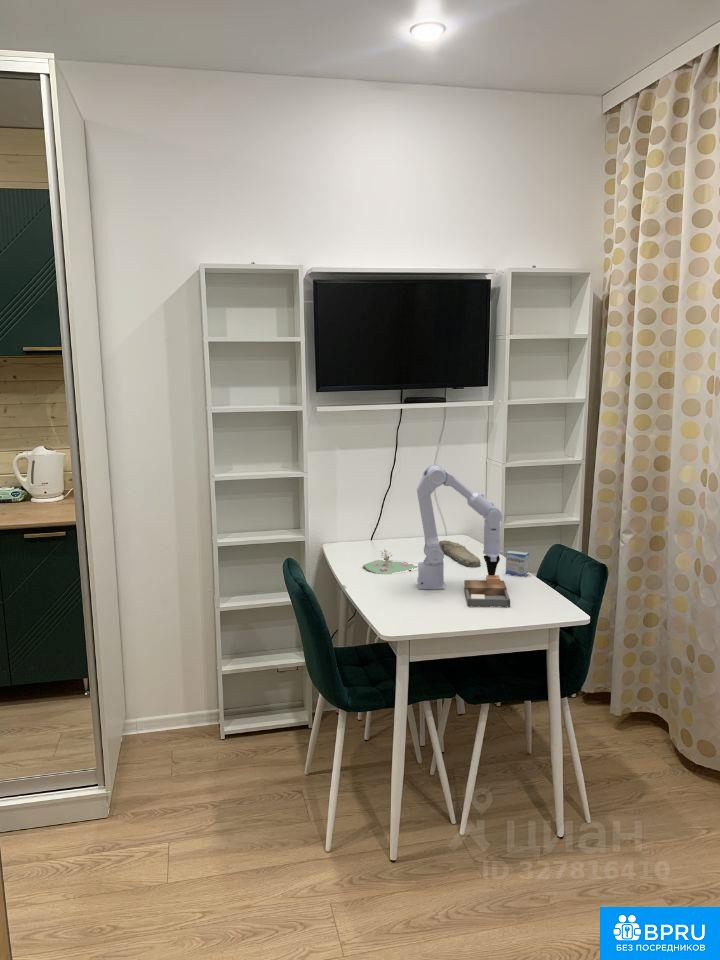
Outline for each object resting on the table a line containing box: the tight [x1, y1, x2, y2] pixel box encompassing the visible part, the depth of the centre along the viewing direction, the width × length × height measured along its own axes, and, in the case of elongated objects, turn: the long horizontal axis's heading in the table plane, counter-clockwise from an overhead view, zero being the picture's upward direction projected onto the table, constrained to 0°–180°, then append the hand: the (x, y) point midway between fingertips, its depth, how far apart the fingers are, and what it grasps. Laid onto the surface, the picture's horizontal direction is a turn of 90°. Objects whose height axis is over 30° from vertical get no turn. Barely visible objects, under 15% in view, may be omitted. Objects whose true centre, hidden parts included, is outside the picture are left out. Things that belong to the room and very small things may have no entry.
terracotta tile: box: [485, 574, 501, 584], centre depth 265 cm, size 4×4×2 cm
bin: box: [465, 589, 511, 608], centre depth 254 cm, size 14×11×2 cm
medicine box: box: [505, 550, 530, 577], centre depth 284 cm, size 8×4×9 cm, turn 62°
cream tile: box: [471, 594, 485, 599], centre depth 252 cm, size 4×4×2 cm
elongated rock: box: [439, 539, 481, 568], centre depth 311 cm, size 35×5×10 cm
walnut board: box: [463, 579, 508, 596], centre depth 264 cm, size 14×9×3 cm, turn 85°
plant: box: [362, 549, 418, 575], centre depth 297 cm, size 25×21×9 cm
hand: (491, 575), depth 272 cm, fingers closed
